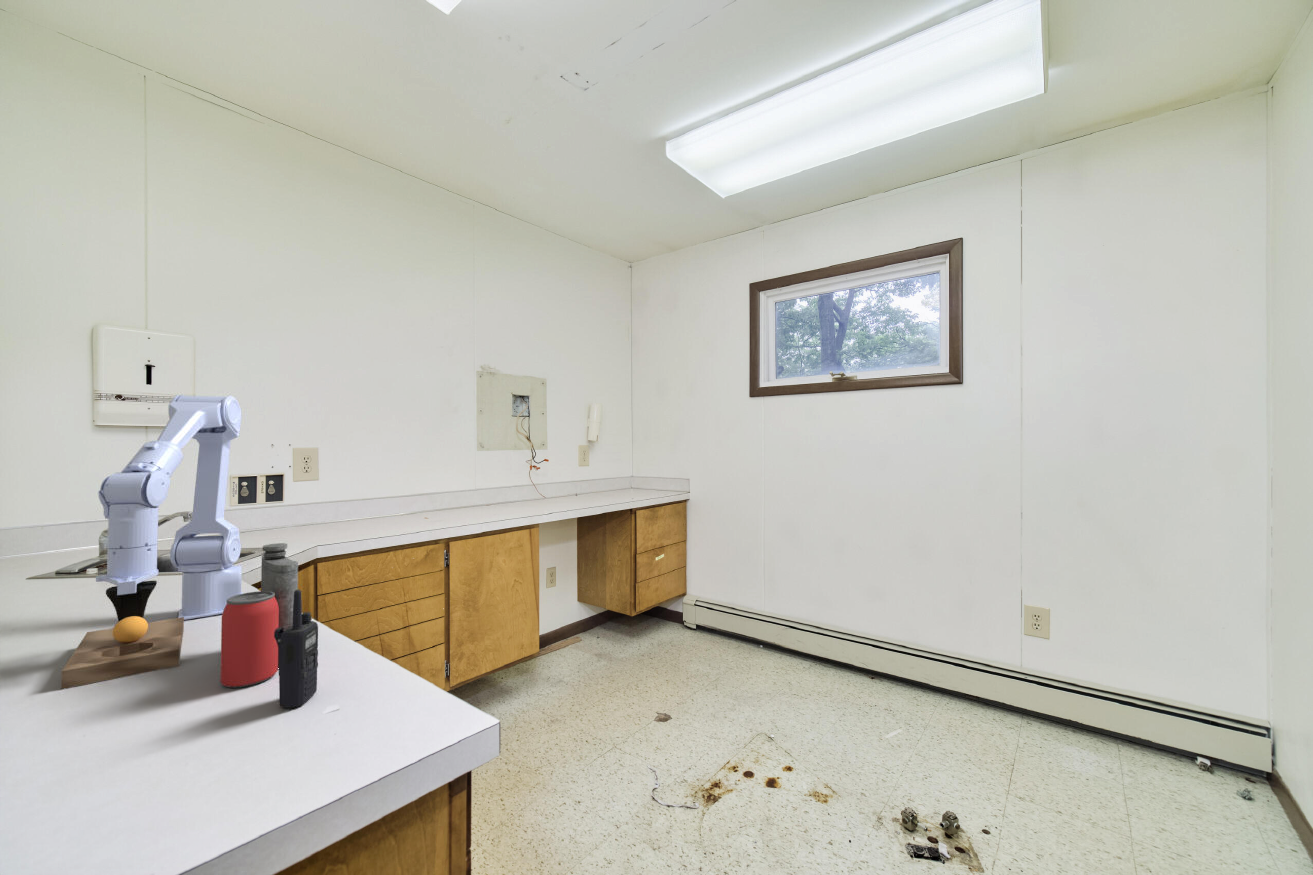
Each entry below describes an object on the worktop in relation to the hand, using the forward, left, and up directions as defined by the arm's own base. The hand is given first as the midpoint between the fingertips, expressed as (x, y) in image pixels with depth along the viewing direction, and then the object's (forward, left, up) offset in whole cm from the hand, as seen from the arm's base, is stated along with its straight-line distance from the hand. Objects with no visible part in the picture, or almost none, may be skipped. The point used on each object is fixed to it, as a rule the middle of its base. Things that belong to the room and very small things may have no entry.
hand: (130, 629), depth 84 cm
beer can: (-14, +24, -4) cm, 28 cm away
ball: (0, +1, 0) cm, 2 cm away
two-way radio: (-18, +36, -4) cm, 40 cm away
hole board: (0, +1, -4) cm, 4 cm away
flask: (-18, +16, -4) cm, 24 cm away
